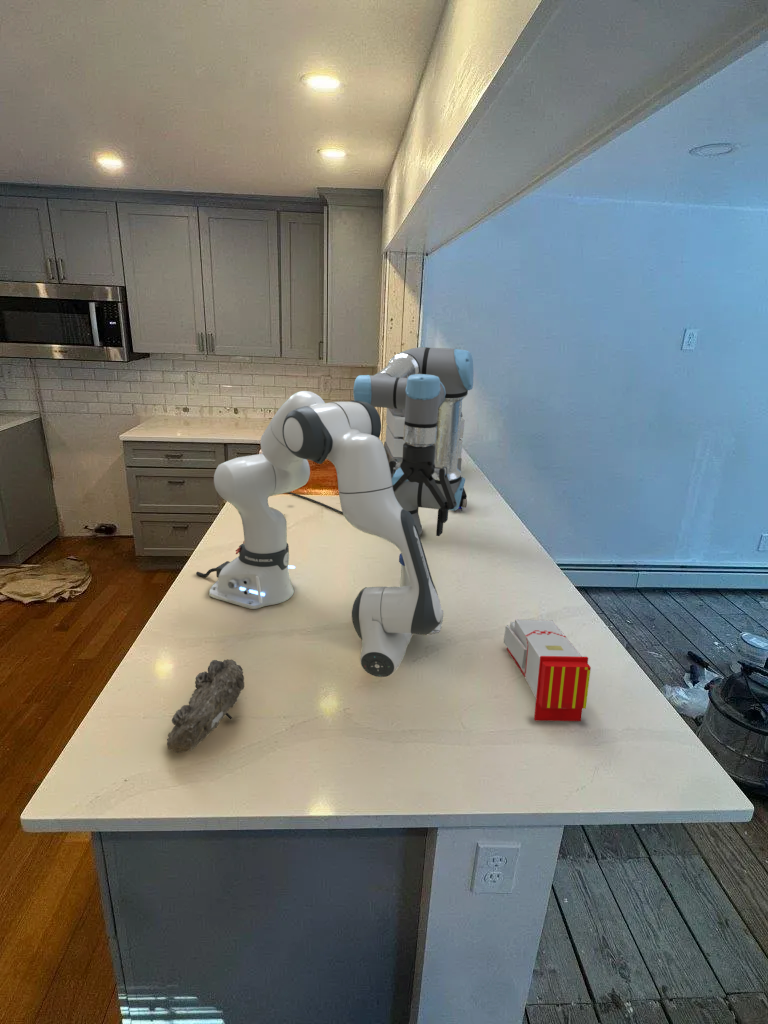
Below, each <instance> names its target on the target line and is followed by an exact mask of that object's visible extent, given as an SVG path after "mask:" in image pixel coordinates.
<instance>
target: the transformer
mask: <svg viewBox="0 0 768 1024" xmlns="http://www.w3.org/2000/svg"><path fill="white" fill-rule="evenodd" d="M385 414H386V415H385V423H386V428H385V438H384V442H383V445H384V448H385V451H386V455H387V459H388V462H390V461H392V460H394V459H396V460H397V461H399V462H402V460H403V458H402V456H403V444H404V443H405V442H404V440H403V438H404V423H405V409H396V408H386V413H385ZM464 429H465V419H464V418H463V411H461V422H460V436H459V449H458V463H457V468H458V469H459V470H460V471H461V472H462V461H463V460H462V453H463V442H464V441H463V440H462V439H463V438H464V431H465V430H464ZM399 468H400V467H399Z"/></svg>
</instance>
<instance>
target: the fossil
mask: <svg viewBox="0 0 768 1024" xmlns="http://www.w3.org/2000/svg"><path fill="white" fill-rule="evenodd" d="M243 670H244V669H243V667H242V665H240V664H237V662H236V661H235V660H234V659H232V658H231V659H227V658H226V659H224V660H223V661H222V660H217V659H212V660H211V661H210V663H209V665H208V666H207V671H201V672H199V673H198V674H197V675H196V676H195V680H194V684H195V685H194V687H195V689H194V690H193V693H192V694H191V697H190V698H189V700H188V704H184V705H182V706H181V707H180V709H177V710H176V711H175V713H174V715H173V716H172V718H171V723H172V724H173V727H172V730H171V731H170V732H168V734H167V738H166V741H167V742H166V745H167V749H168V750H169V751H173V752H174V753H176V754H178V753H182V752H188V751H189V752H192V751H193V750H195V748H196V747H197V746H199V744H200V743H201V742H203V741H204V740H205V739H206V738H207V737H208V736H209V735H210V734H211V733H212V732H214V730H215V729H217V727H218V726H219V724H220V722H221V721H222V720H223V719H224V718H225V716H226V717H227V719H229V720H233V717H232V715H230V714H229V710H230V709H231V708H234V706H235V704H236V703H237V702H238V699H239V697H240V695H241V693H242V691H243V690H245V689H244V688H245V675H244V671H243Z"/></svg>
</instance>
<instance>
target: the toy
mask: <svg viewBox="0 0 768 1024" xmlns="http://www.w3.org/2000/svg"><path fill="white" fill-rule="evenodd" d="M503 644H504V645H505V647H506V650H507V653H508V654H509V656H510V657H511V658H512V660H513V662H514V663H515V665H516V667H517V668H518V669H519V671H520V672H521V674H522V676H523V677H524V678H525V681H526V683H527V684H528V686H529V688H530V690H531V692H532V694H533V695H534V697H535V706H534V717H533V720H534V721H536V722H539V721H540V722H582V716H583V715H582V714H583V709H587V704H588V703H587V701H588V695H589V685H590V677H591V669H592V666H590V664H589V657H588V656H582V654H581V653H580V652H579V651H578V649H576V647H575V646H574V645H573V643H572V642H571V641H570V640H569V639H568V637H567V636H566V635H565V634H564V633H563V631H562V630H561V629H560V628H559V626H558V625H557V624H556V623H555V621H554V620H553V619H524V618H523V619H521V618H518V619H516V618H515V619H514V621H510V622H509V624H506V625H505V629H504V637H503Z"/></svg>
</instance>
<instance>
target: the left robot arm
mask: <svg viewBox="0 0 768 1024" xmlns="http://www.w3.org/2000/svg"><path fill="white" fill-rule="evenodd" d="M381 433H382V420H381V417H380V414H379V412H378V410H377V409H376V407H373V406H372V405H371V404H369V403H366V402H362V401H355V400H349V401H329V402H326V401H325V400H324V399H323V398H322V397H321V396H320V395H318V393H315V392H313V391H310V390H299V391H296V392H294V393H293V394H292V395H291V396H290V397H288V398H287V399H286V400H285V401H284V402H283V404H282V405H281V406H280V407H279V408H278V410H277V411H276V412H275V413H274V415H273V417H272V418H271V420H270V422H269V423H268V425H267V426H266V428H265V430H264V431H263V433H262V434H261V437H260V444H259V445H260V451H261V453H258V454H252V455H251V454H250V455H245V456H239V457H234V458H232V459H229V460H226V461H224V462H221V463H220V464H218V466H217V467H216V469H215V471H214V473H213V486H214V488H215V491H216V492H217V494H218V495H219V497H220V498H221V499H223V500H224V501H225V502H228V503H230V505H232V506H233V507H234V508H235V510H236V511H237V512H238V514H239V516H240V519H241V522H242V530H243V543H241V544H240V545H239V546H238V548H237V549H236V550H235V555H238V556H237V557H235V558H234V559H232V560H231V561H229V560H227V561H225V562H223V563H221V564H220V565H217V566H216V567H213V568H209V569H208V570H207V571H206V573H203V572H200V571H196V572H195V574H196V576H199V577H202V578H207V577H209V575H211V573H214V572H216V578H218V579H217V580H216V581H215V582H214V583H213V584H212V586H211V587H210V588H209V594H208V596H209V597H210V598H213V599H217V600H219V601H223V602H226V603H230V604H233V605H236V606H240V607H243V608H246V609H249V610H257V609H260V608H263V607H267V606H273V605H278V604H282V603H284V602H286V601H287V600H288V601H289V599H291V598H292V597H293V595H294V592H295V590H294V587H293V583H292V581H291V575H290V571H289V569H292V570H293V569H296V566H295V565H289V564H290V550H289V549H290V548H289V543H288V532H287V531H288V530H287V529H288V527H287V519H286V516H285V515H284V514H283V512H281V511H280V510H278V509H277V508H274V507H271V506H269V498H270V497H274V496H278V495H282V494H287V493H288V492H291V493H292V492H293V491H296V490H298V489H300V488H302V487H304V486H306V484H308V482H309V479H310V475H311V468H310V467H311V466H310V463H309V461H312V462H314V463H315V464H319V465H321V464H323V463H324V462H325V461H326V460H328V461H329V462H331V464H332V465H333V466H334V468H335V470H336V471H335V472H336V477H337V488H338V495H339V497H338V498H339V504H340V508H341V511H342V512H343V514H342V515H343V517H344V519H345V520H346V521H347V522H348V523H349V524H350V525H351V526H352V527H354V528H355V529H357V530H358V531H360V532H362V533H365V534H368V535H371V536H374V537H376V538H380V539H383V540H385V541H387V542H389V543H391V544H393V545H394V546H395V547H396V548H397V549H398V550H399V552H400V554H402V557H403V560H404V563H405V567H406V570H407V574H408V577H409V581H410V584H411V586H405V587H400V586H365V587H364V588H362V589H361V590H360V591H359V593H358V594H357V595H356V598H355V599H354V601H353V605H352V607H351V620H352V626H353V629H354V632H356V635H357V636H358V638H359V639H360V640H361V651H360V657H359V662H360V665H361V667H362V669H363V671H365V672H366V673H367V674H368V675H370V676H373V677H376V678H377V677H378V678H385V677H386V678H387V677H390V676H391V675H393V674H395V672H396V671H397V670H398V669H399V668H400V666H401V664H402V662H403V660H404V657H405V655H406V652H407V649H408V645H409V644H410V642H411V639H412V637H413V635H421V636H428V635H435V634H439V633H441V630H442V628H443V627H442V626H443V623H444V615H445V613H444V609H442V608H443V607H442V603H441V600H440V597H439V594H438V591H437V589H436V588H437V587H436V586H435V583H434V580H433V577H432V574H431V571H430V567H429V564H428V560H427V556H426V553H425V550H424V546H423V543H422V539H421V536H419V533H418V530H417V527H416V524H415V521H414V519H413V517H412V515H411V513H410V512H408V511H406V510H404V509H403V508H402V507H401V506H400V504H399V503H398V501H397V499H396V497H395V494H394V491H393V486H392V477H391V472H390V467H389V462H388V459H387V455H386V451H385V448H384V442H383V441H382V440H381V438H380V436H381Z"/></svg>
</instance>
